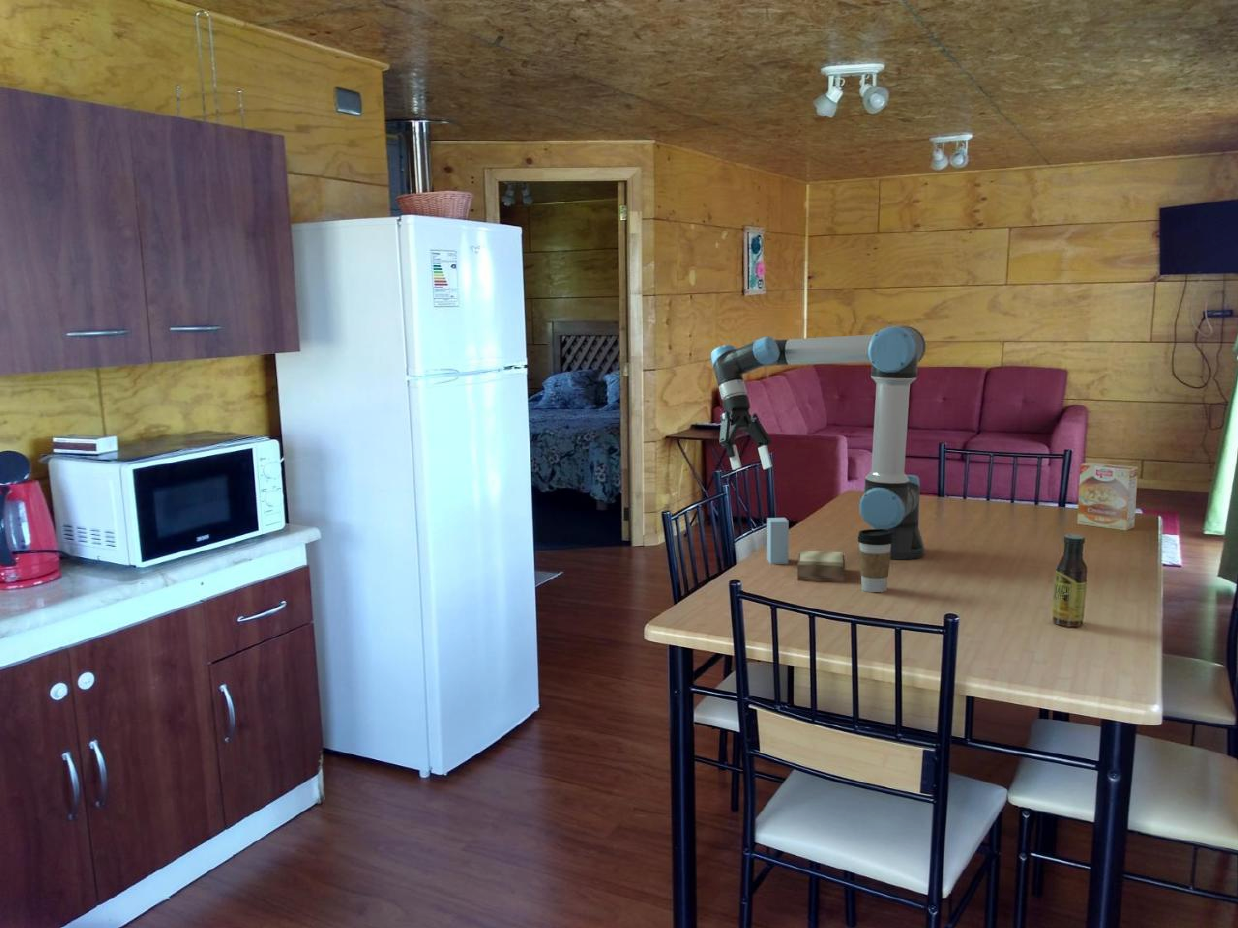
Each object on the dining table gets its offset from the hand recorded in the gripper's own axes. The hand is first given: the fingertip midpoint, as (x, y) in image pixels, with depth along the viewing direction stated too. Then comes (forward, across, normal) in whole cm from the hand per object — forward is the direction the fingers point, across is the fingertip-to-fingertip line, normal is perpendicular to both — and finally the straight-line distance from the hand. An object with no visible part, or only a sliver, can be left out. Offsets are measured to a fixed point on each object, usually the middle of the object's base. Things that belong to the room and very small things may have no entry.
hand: (752, 468), depth 264 cm
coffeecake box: (+35, -108, +46) cm, 123 cm away
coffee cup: (+41, +2, +29) cm, 51 cm away
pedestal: (+34, 0, +13) cm, 36 cm away
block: (+27, -3, -2) cm, 27 cm away
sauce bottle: (+59, -4, +70) cm, 92 cm away
